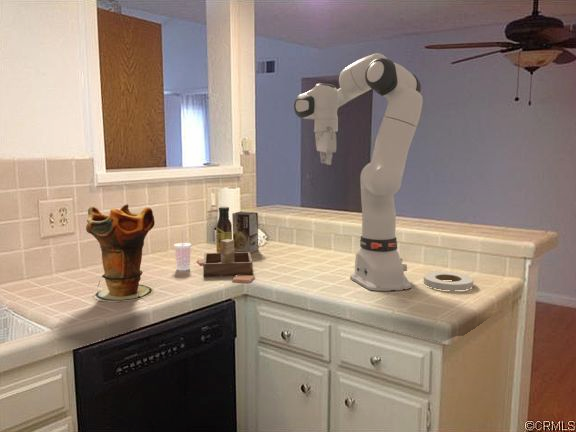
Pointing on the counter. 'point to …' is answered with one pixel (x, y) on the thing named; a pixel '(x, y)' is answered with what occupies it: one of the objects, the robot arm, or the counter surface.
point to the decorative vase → (121, 251)
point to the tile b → (243, 278)
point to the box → (227, 265)
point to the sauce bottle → (223, 227)
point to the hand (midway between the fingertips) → (325, 163)
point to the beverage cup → (182, 255)
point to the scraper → (227, 251)
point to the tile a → (200, 261)
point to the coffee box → (245, 231)
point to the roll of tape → (457, 281)
